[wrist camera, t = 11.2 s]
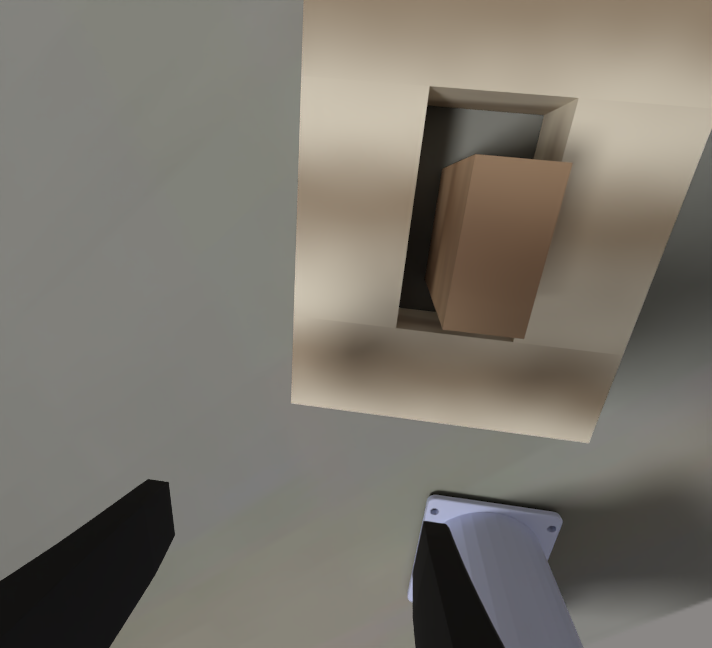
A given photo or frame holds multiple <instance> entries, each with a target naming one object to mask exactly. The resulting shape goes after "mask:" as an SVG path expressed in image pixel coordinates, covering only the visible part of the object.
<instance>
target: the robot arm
mask: <svg viewBox="0 0 712 648" xmlns="http://www.w3.org/2000/svg"><path fill="white" fill-rule="evenodd" d="M433 508H436V509H435V510H433ZM562 523H563V521H562V518H561V516H560V515H559V514H558V513H556V512H552V511H545V510H538V509H531V508H525V507H518V506H511V505H504V504H497V503H490V502H483V501H476V500H470V499H463V498H456V497H449V496H442V495H431V496H429V497H428V499H427V503H426V507H425V512H424V517H423V522H422V526H421V531H420V536H419V541H418V545H417V550H416V555H415V560H414V564H413V569H412V574H411V579H410V583H409V588H408V599H409V600H410V601H411V602H413V625H414V636H415V646H416V648H583V645H582V643H581V641H580V638H579V636H578V633H577V631H576V629H575V626H574V624H573V621H572V619H571V617H570V614H569V612H568V609H567V607H566V605H565V602H564V600H563V597H562V595H561V592H560V590H559V588H558V585H557V583H556V580H555V578H554V576H553V573H552V571H551V568H550V566H549V564H548V559H549V556H550V554H551V551H552V549H553V546H554V544H555V541H556V538H557V536H558V533H559V531H560V528H561V526H562ZM549 526H550V527H549ZM174 536H175V531H174V523H173V515H172V506H171V498H170V490H169V482H164V481H157V480H150V479H148V480H146V481H145V482H143V483H142V484H140V485H139V486H138V487H136V488H135V489H133V490H132V491H131V492H129V493H128V494H126V495H125V496H124V497H122V498H121V499H120V500H118V501H117V502H115V503H114V504H113V505H111V506H110V507H108V508H107V509H106V510H104V511H103V512H101V513H100V514H99V515H97V516H96V517H95V518H93V519H92V520H90V521H89V522H87V523H86V524H85V525H83V526H82V527H80V528H79V529H77V530H76V531H75V532H73V533H72V534H70V535H69V536H67V537H66V538H65V539H63V540H62V541H60V542H59V543H57V544H56V545H54V546H53V547H51V548H50V549H48V550H47V551H45V552H44V553H42V554H41V555H39V556H38V557H36V558H35V559H33V560H32V561H30V562H29V563H27V564H26V565H24V566H23V567H21V568H20V569H18V570H17V571H15V572H14V573H12V574H10V575H9V576H7V577H6V578H4V579H3V580H1V581H0V648H109V647H110V646H111V644H112V642H113V641H114V639H115V638H116V636H117V635H118V633H119V631H120V630H121V628H122V627H123V625H124V624H125V622H126V620H127V619H128V617H129V616H130V614H131V613H132V611H133V609H134V608H135V606H136V605H137V603H138V601H139V600H140V598H141V597H142V595H143V594H144V592H145V590H146V589H147V587H148V586H149V584H150V582H151V581H152V579H153V577H154V576H155V574H156V572H157V570H158V568H159V566H160V564H161V562H162V560H163V558H164V556H165V554H166V552H167V550H168V548H169V546H170V544H171V542H172V540H173V538H174Z"/></svg>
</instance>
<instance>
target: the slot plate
mask: <svg viewBox="0 0 712 648" xmlns="http://www.w3.org/2000/svg"><path fill="white" fill-rule="evenodd" d="M427 106H439V107H451V108H463V109H475V110H487V111H499V112H511V113H523V114H536V115H544V118H543V122H542V126H541V130H540V134H539V138H538V143H537V147H536V151H535V155H534V159H536V160H547V161H558V162H570V163H573V164H572V168H571V172H570V175H569V179H568V182H567V186H566V190H565V193H564V197H563V201H562V204H561V208H560V211H559V215H558V219H557V222H556V226H555V229H554V233H553V237H552V240H551V244H550V247H549V251H548V255H547V258H546V262H545V266H544V269H543V273H542V276H541V280H540V284H539V287H538V291H537V294H536V298H535V302H534V305H533V309H532V312H531V316H530V320H529V323H528V327H527V331H526V334H525V338H524V339H518V338H510V337H501V336H493V335H484V334H476V333H467V332H459V331H450V330H443V329H442V326H441V323H440V321H439V318H438V315H437V312H432V311H424V310H415V309H407V308H399V303H400V295H401V288H402V281H403V274H404V267H405V260H406V252H407V245H408V238H409V231H410V224H411V217H412V209H413V202H414V195H415V188H416V181H417V174H418V167H419V159H420V152H421V145H422V138H423V131H424V124H425V116H426V109H427ZM711 129H712V0H304V10H303V42H302V74H301V105H300V137H299V169H298V201H297V233H296V265H295V296H294V328H293V360H292V392H291V403H293V404H300V405H308V406H315V407H323V408H330V409H338V410H345V411H353V412H360V413H368V414H375V415H383V416H390V417H397V418H405V419H412V420H420V421H427V422H435V423H442V424H450V425H457V426H465V427H472V428H480V429H487V430H494V431H502V432H509V433H517V434H524V435H532V436H539V437H547V438H554V439H562V440H569V441H577V442H584V443H589V441H590V439H591V436H592V434H593V431H594V428H595V426H596V423H597V421H598V418H599V416H600V413H601V411H602V408H603V405H604V403H605V400H606V398H607V395H608V393H609V390H610V388H611V385H612V382H613V380H614V377H615V375H616V372H617V370H618V367H619V365H620V362H621V359H622V357H623V354H624V352H625V349H626V347H627V344H628V341H629V339H630V336H631V334H632V331H633V329H634V326H635V324H636V321H637V318H638V316H639V313H640V311H641V308H642V306H643V303H644V301H645V298H646V295H647V293H648V290H649V288H650V285H651V283H652V280H653V278H654V275H655V272H656V270H657V267H658V265H659V262H660V260H661V257H662V255H663V252H664V249H665V247H666V244H667V242H668V239H669V237H670V234H671V232H672V229H673V226H674V224H675V221H676V219H677V216H678V214H679V211H680V208H681V206H682V203H683V201H684V198H685V196H686V193H687V191H688V188H689V185H690V183H691V180H692V178H693V175H694V173H695V170H696V168H697V165H698V162H699V160H700V157H701V155H702V152H703V150H704V147H705V145H706V142H707V139H708V137H709V134H710V132H711Z"/></svg>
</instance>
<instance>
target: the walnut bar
mask: <svg viewBox="0 0 712 648" xmlns="http://www.w3.org/2000/svg"><path fill="white" fill-rule="evenodd" d="M572 164H573V163H570V162H558V161H547V160H536V159H525V158H513V157H502V156H491V155H480V154H475V155H473V156H470V157H468V158H466V159H464V160H461V161H459V162H457V163H454V164H452V165H450V166H448V167H445V168H443V169H442V173H441V180H440V186H439V192H438V198H437V204H436V211H435V217H434V223H433V229H432V236H431V242H430V248H429V254H428V261H427V267H426V273H425V281H426V284H427V287H428V290H429V292H430V295H431V298H432V301H433V304H434V307H435V309H436V312H437V315H438V318H439V321H440V323H441V326H442V329H443V330H450V331H459V332H467V333H476V334H484V335H493V336H501V337H510V338H518V339H524V338H525V334H526V331H527V327H528V323H529V320H530V316H531V312H532V309H533V305H534V302H535V298H536V294H537V291H538V287H539V284H540V280H541V276H542V273H543V269H544V266H545V262H546V258H547V255H548V251H549V247H550V244H551V240H552V237H553V233H554V229H555V226H556V222H557V219H558V215H559V211H560V208H561V204H562V201H563V197H564V193H565V190H566V186H567V182H568V179H569V175H570V172H571V168H572Z"/></svg>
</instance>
